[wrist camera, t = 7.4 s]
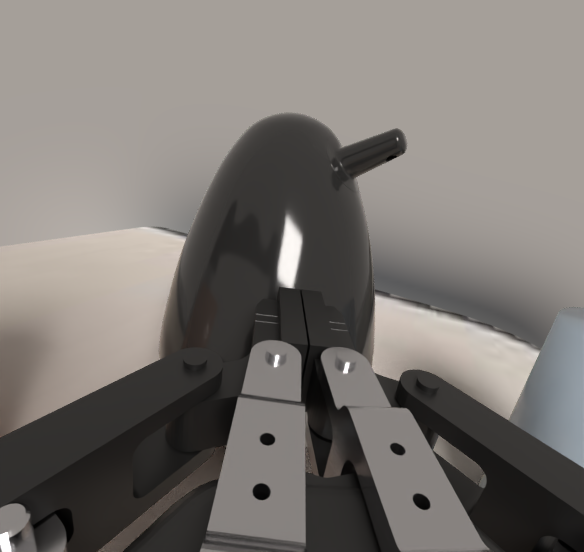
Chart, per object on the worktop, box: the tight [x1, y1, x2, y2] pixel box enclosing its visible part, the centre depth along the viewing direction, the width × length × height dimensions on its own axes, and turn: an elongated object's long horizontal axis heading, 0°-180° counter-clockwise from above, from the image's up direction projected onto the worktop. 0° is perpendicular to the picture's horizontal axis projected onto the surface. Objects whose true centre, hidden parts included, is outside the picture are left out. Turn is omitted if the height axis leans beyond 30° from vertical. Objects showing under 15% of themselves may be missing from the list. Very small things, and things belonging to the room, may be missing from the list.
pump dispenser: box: [159, 113, 407, 448], centre depth 18 cm, size 10×10×15 cm
